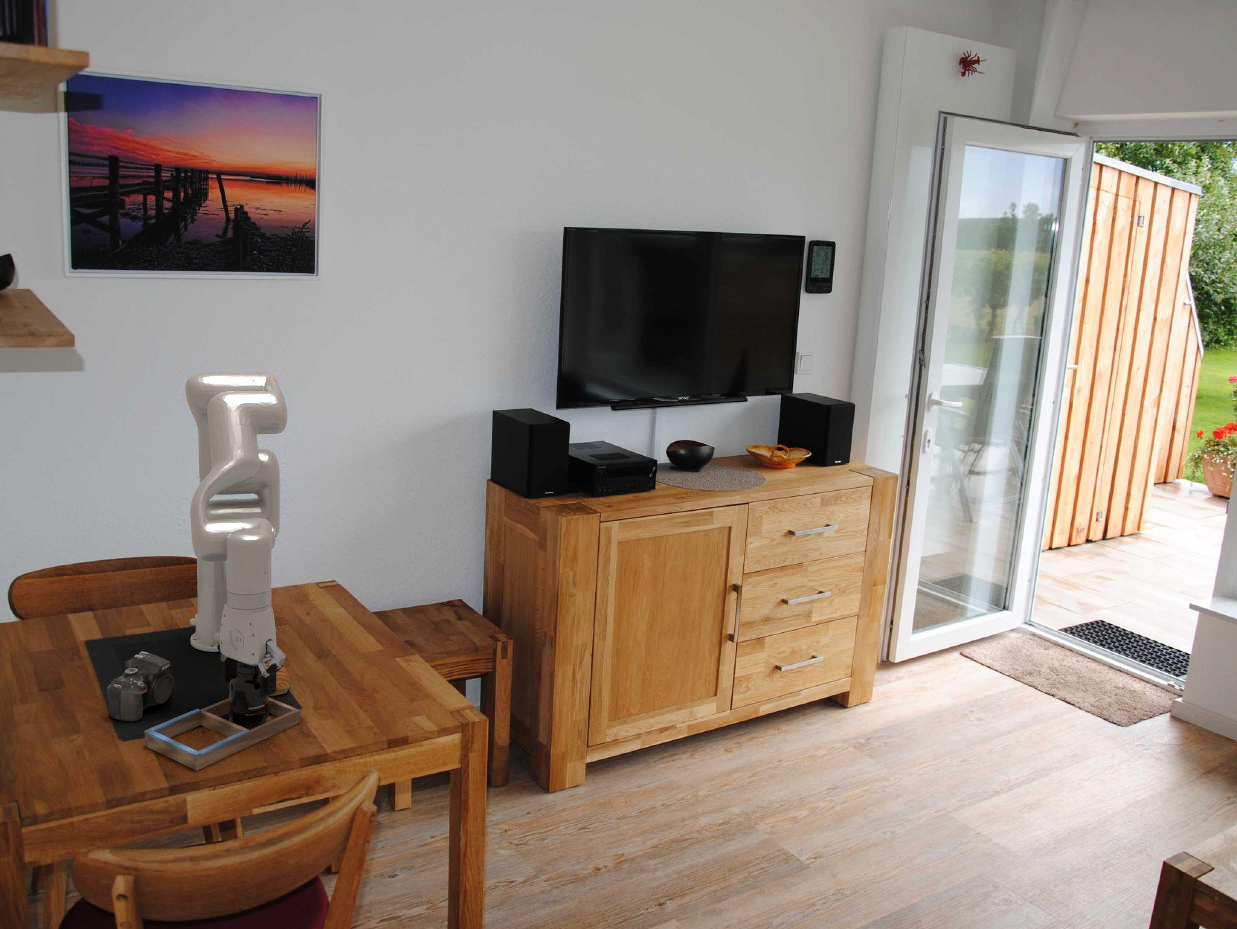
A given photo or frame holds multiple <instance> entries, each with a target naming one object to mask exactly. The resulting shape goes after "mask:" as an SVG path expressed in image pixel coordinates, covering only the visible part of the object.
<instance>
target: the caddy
mask: <svg viewBox="0 0 1237 929" xmlns="http://www.w3.org/2000/svg"><path fill="white" fill-rule="evenodd" d="M229 703H230V697H228V698H226V699H223V700H221V701H218V702H216V703H213V704H211V705H208V706H206V707H203V708H202V709H199V708H196V709H193V710H191V711H189V712H186V713H184V714H182V715H178V716H176V717H174V718H172V719H169V720H167V721H164V722H162V723H160V724H157V725H155V726H152V727H150V728H148V729H146V730H143V731H144V732H143V733H144V747H146V748H148V749H150V750H152V751H155V752H156V753H158V754H161V755H163V756H165V757H167V758H169V759H172V760H173V761H175V762H178V763H180V764H182V765H185V766H186V767H188V768H190V769H192V770H194V771H200V770H202V769H204V768H206V767H209V766H211V765H213V764H215V763H217V762H219V761H221V760H223V759H225V758H228V757H230V756H231V755H234V754H236V753H238V752H240V751H243V750H245V749H247V748H249V747H251V746H253V745H255V744H257V743H260V742H261V740H262V741H263V740H266V739H268V738H271V737H272V736H274V735H277V734H279V733H281V732H283V731H285V730H287V729H289V728H292V727H294V726H295V725H297V724H299V723H300V722H301V710H300V709H298V708H295V707H293V706H291V705H288V704H286V703H283V702H282V701H279V700H276V699H275V698H274V699H273V698H271V697H269V712H271V713H272V714H271V713H270V714H271V715H274V716H275V718H274V719H272V720H268V722H267V723H265V724H263V725H260V726H258V727H256V728H254V729H252V730H248V729H246V728H243V727H241V726H239V725H236V724H234V723H232V722H230V721H229V720H228V719H224V718H222V717H223V716H225V715H227V713H228V714H229ZM220 716H221V717H220ZM199 726H203V727H205V728H207V729H209V730H211V731H214V732H216V733H219V734H220V735H222V736H225V737H227V738H224V739H222V740H220V741H218V742H215V743H213V744H211V745H209V746H206V747H204V748H202V749H199V750H196V749H195V748H194V749H193V748H191V747H189V746H188V745H185V744H184V743H181V742H179V741H178V740H177V741H176V740H174V739H172V738H174V737H176V736H179V735H181V734H183V733H185V732H188V731H190V730H192V729H195V728H198V727H199Z"/></svg>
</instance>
